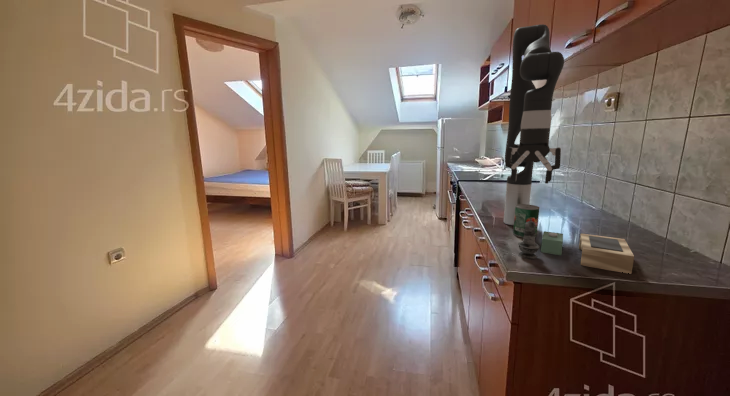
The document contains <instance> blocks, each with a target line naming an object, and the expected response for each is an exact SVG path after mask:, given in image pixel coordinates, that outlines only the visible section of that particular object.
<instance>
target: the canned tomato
mask: <svg viewBox="0 0 730 396" xmlns="http://www.w3.org/2000/svg"><path fill="white" fill-rule="evenodd" d="M539 214H540V206H538V205H533V204H530V205H527V204H518V205H516V206H515V218H514V225H513V230H512V234H513V235H514V236H515V237H519V238H523V239H524V233H523V232H524V231H525V223H526V222H528V221H530V219H532V221H533V222H534V223H535V224H536V228H535V233H536V235H535V238H537V235H538V226H539V225H538V224H539V217H540V216H539Z"/></svg>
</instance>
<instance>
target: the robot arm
mask: <svg viewBox="0 0 730 396" xmlns="http://www.w3.org/2000/svg"><path fill="white" fill-rule="evenodd" d="M550 37H551V34H550V28H549V26H548V25H546V24H543V23H542V24H541V23H540V24H535V25H528V26H520V27H517V28H516V29H515V31H514V34H513V39H512V66H511V67H512V69H511V70H512V71H511V72H512V73H511V84H510V85H511V86H510V94H509V106H508V128H507V136H506V144H505V151H504V167H506V168H508V169H509V168H510V169H511V172H510V174H509V175H508V176H507V177H506V187H505V188H506V191H505V201H504V213H503V223H504V224H506V225H509V226H514V218H515V206H516V205H518V204H527V205H531V203H530V202H531V195H532V193H531V192H532V183H533V170H534V165H535V164H534V163H540V162H541V163H542V165H543V166H544V168H545V169H546V171H545V181H544V184H547V185H548V184H549V183H550V182H551V181H552V176H553V171H555V170H559V169H560V167H561V155H562V148H561V147H556V148H555V147H552V148H550V135H551V125H552V103H553V98H554V97H553V96H554V92H555V89H556V85H557V82H558V80H559V78H560V76H561V73H562V70H563V68H564V65H565V57H564V55H563V53H562V52H560V51H552V50H551V48H550ZM533 81H534V82H535V81H545V84H544V85H543V86H540V87H538V88H536V86H535V84H534V82H533ZM519 134H520V135H519ZM518 136H520V137H519V143H516V141H517V138H518ZM549 153H551V154H552V156H554V164H553V165H551V163H550V162H549V160H548V159H547V158H546V156H547V155H549ZM517 168H523V170H521V171H520V172H518V169H517Z"/></svg>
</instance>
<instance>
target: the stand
mask: <svg viewBox="0 0 730 396" xmlns="http://www.w3.org/2000/svg"><path fill="white" fill-rule="evenodd" d="M578 250H581V258H580V266H584V267H590V268H595V269H601V270H606V271H610V272H611V271H612V272H618V273H622V272H623V274H628V273H629V274H630V275H632V273H633V266H634V262H635V261H634V260H635V255H634V253H633V252H632V250H631V248H630V246H629V245H628V243H627V241H626V239H625V238H619V237H612V236H611V237H610V236H603V235H596V234H590V233H589V234H587V233H580V235H579V244H578ZM629 274H628V275H629Z"/></svg>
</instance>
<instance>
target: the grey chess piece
mask: <svg viewBox="0 0 730 396" xmlns="http://www.w3.org/2000/svg"><path fill="white" fill-rule="evenodd" d="M535 228H536V224H535V223H534V222H533V221H532V219H530V221H528V222H526V223H525V231H524V232H523V233H524V238H523V239H522V241H520V242H519V241H518V242H517V245H518V249H519V251H520V252H518V253H517V255H518V257H520V258H523V259H527V260H535V259H537V258H538V256H537V254H536V253H537V251H538V250H539V248H540V245H539V244H537V243H536V240H535V239H536V237H535V235H536V233H535Z"/></svg>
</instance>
